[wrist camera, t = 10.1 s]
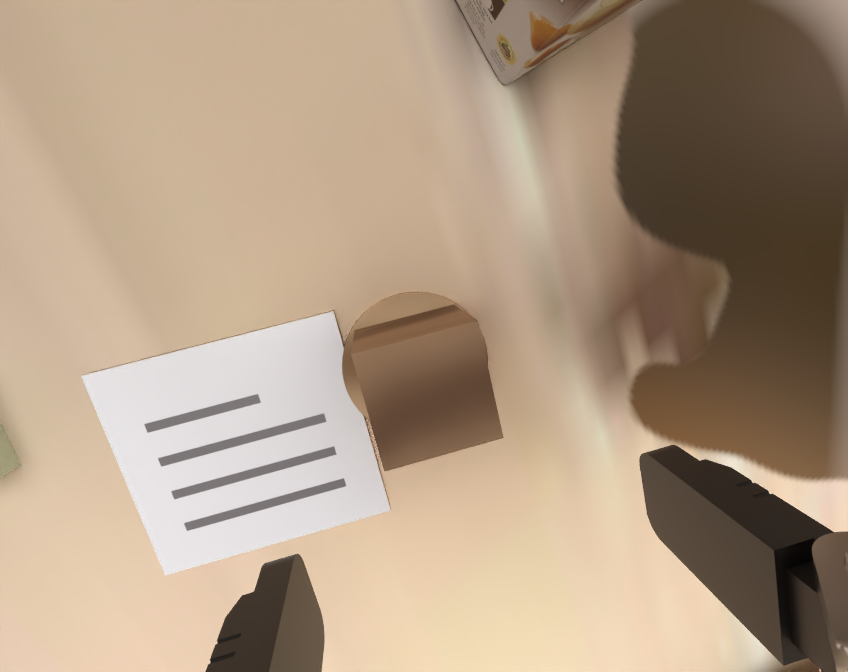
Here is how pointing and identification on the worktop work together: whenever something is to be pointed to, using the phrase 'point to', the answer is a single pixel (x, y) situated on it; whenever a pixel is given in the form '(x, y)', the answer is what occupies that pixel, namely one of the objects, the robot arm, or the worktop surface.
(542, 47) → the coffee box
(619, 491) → the worktop surface
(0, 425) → the sage cube
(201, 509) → the letter
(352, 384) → the coaster
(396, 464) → the walnut block
